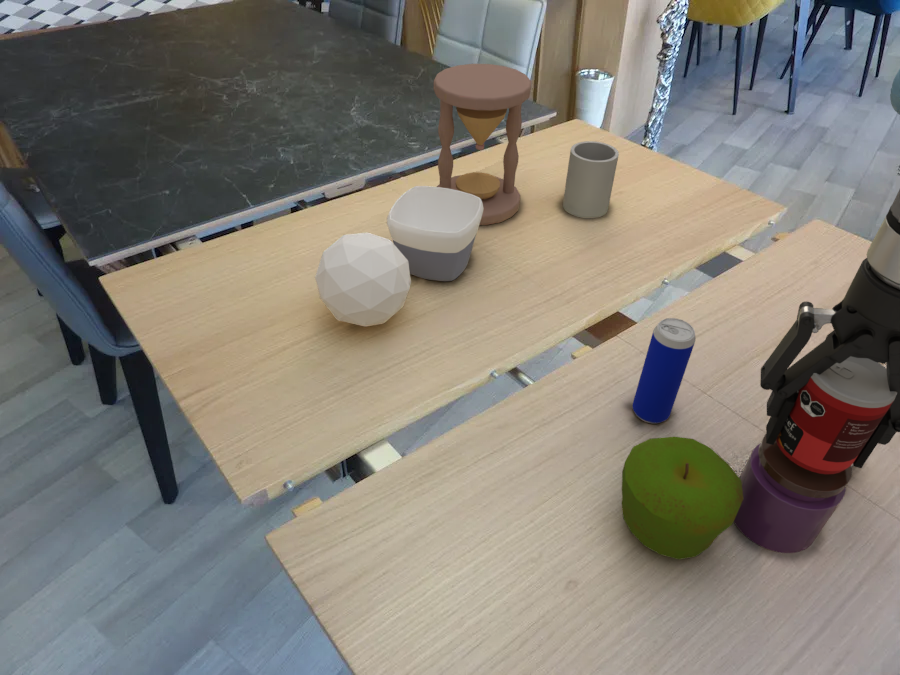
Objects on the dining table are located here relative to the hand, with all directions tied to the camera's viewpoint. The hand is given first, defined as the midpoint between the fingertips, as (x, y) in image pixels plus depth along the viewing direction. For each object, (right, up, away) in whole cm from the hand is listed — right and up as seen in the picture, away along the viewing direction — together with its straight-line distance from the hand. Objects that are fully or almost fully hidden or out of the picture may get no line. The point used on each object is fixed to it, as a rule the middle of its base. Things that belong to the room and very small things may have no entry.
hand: (812, 446), depth 72 cm
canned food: (0, 0, 0) cm, 0 cm away
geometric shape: (-53, +15, +36) cm, 66 cm away
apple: (-14, -11, +7) cm, 19 cm away
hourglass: (-34, +39, +64) cm, 82 cm away
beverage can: (-11, +1, +21) cm, 24 cm away
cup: (-11, +38, +64) cm, 75 cm away
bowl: (-42, +25, +48) cm, 68 cm away
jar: (0, -10, +8) cm, 13 cm away
